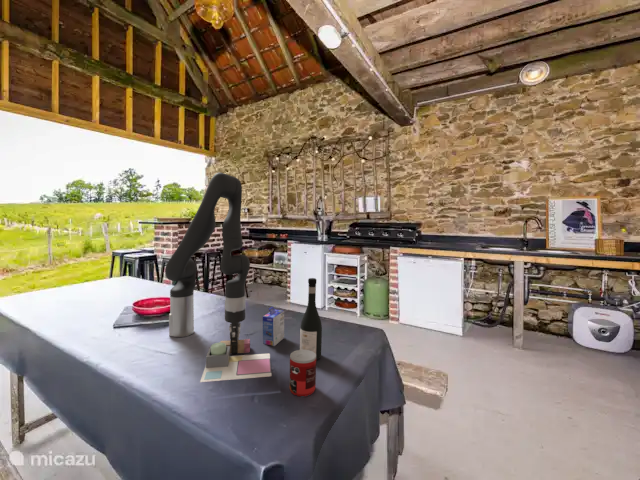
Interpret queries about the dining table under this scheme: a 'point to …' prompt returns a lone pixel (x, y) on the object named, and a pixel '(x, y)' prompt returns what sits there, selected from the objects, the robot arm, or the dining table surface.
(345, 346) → the dining table surface
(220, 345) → the button
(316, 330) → the wine bottle
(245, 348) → the wooden block
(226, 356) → the button housing
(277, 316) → the ink cartridge box
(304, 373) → the canned food
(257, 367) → the colouring board
